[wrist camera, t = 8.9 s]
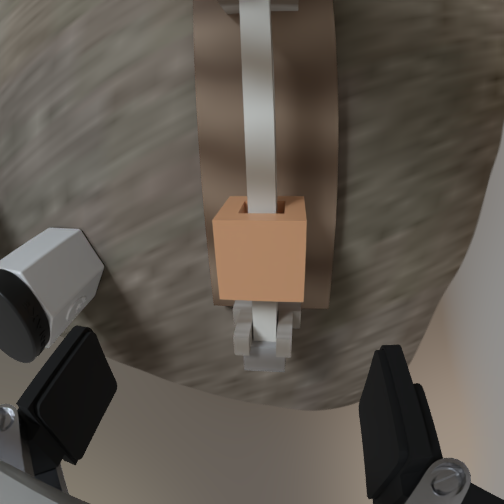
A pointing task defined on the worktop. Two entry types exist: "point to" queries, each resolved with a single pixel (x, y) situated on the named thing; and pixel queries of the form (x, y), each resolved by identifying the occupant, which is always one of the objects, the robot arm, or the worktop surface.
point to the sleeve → (261, 251)
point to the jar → (45, 290)
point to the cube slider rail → (269, 142)
